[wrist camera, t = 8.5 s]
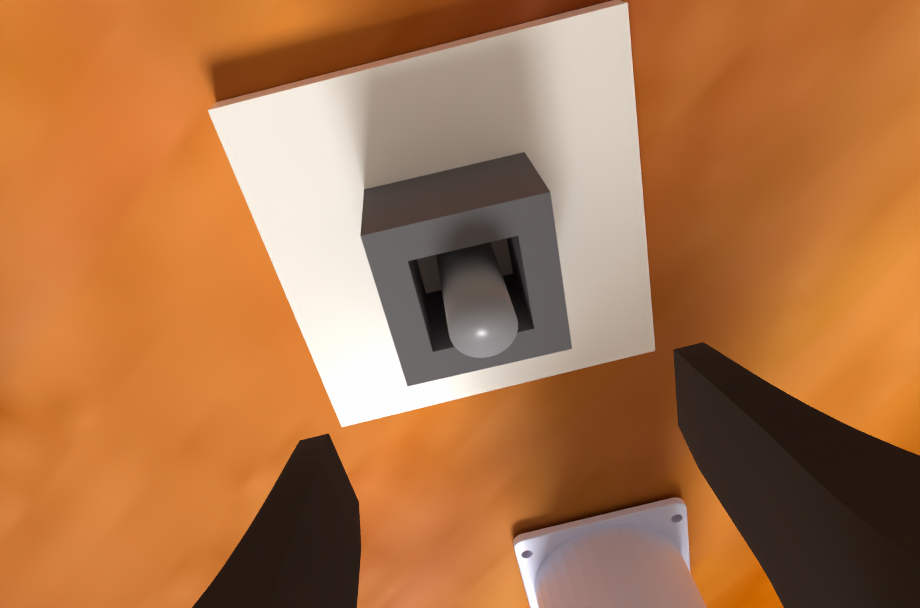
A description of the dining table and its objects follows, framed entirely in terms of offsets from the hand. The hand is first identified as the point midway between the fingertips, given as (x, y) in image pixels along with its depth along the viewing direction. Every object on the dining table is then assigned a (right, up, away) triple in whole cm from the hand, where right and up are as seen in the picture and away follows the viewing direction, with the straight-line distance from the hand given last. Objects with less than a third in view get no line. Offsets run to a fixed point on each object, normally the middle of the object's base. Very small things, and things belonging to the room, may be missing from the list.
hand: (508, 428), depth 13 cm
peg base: (-1, +5, +8) cm, 10 cm away
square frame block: (-1, +5, +8) cm, 9 cm away
